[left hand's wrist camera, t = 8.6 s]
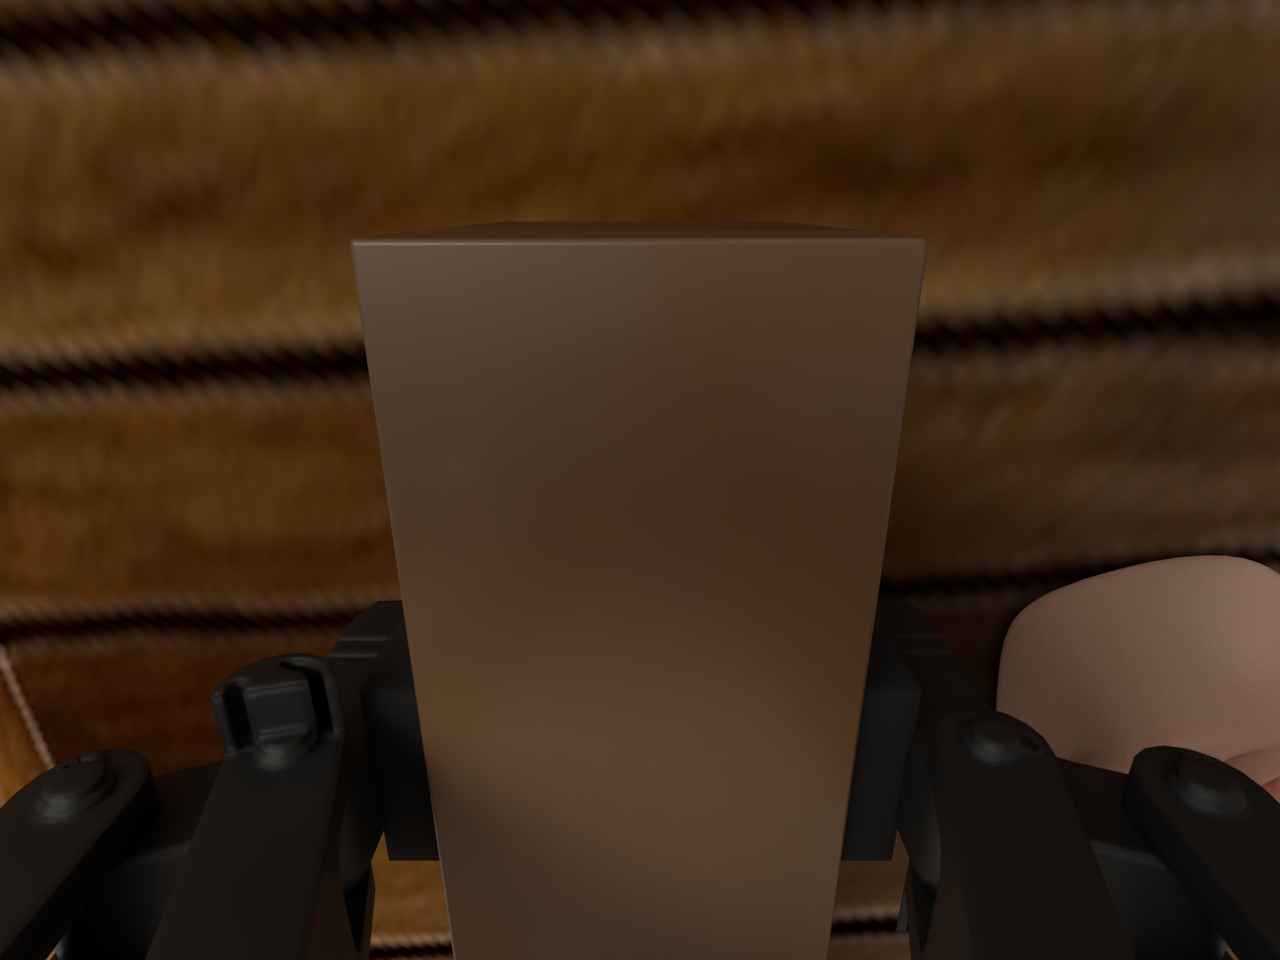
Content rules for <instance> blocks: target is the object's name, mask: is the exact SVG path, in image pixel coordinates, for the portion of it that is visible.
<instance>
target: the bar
mask: <svg viewBox="0 0 1280 960" xmlns="http://www.w3.org/2000/svg"><path fill="white" fill-rule="evenodd" d="M927 245H928V244H927V240H926V239H925V238H923V237H917V236H908V235H899V234H889V233H880V232H871V231H862V230H852V229H843V228H834V227H825V226H815V225H806V224H797V223H788V222H778V221H634V222H497V223H488V224H479V225H469V226H460V227H451V228H442V229H433V230H424V231H415V232H406V233H397V234H388V235H378V236H369V237H360V238H355V239H353V240H352V241H351V245H350V246H351V253H352V260H353V267H354V273H355V280H356V287H357V294H358V301H359V308H360V315H361V322H362V328H363V335H364V342H365V349H366V356H367V363H368V370H369V377H370V384H371V390H372V397H373V404H374V411H375V418H376V425H377V432H378V439H379V446H380V452H381V459H382V466H383V473H384V480H385V487H386V494H387V501H388V508H389V514H390V521H391V528H392V535H393V542H394V549H395V556H396V563H397V569H398V576H399V583H400V590H401V597H402V604H403V611H404V618H405V625H406V631H407V638H408V645H409V652H410V659H411V666H412V673H413V680H414V687H415V693H416V700H417V707H418V714H419V721H420V728H421V735H422V742H423V749H424V755H425V762H426V769H427V776H428V783H429V790H430V797H431V804H432V810H433V817H434V824H435V831H436V838H437V845H438V852H439V859H440V866H441V872H442V879H443V886H444V893H445V900H446V907H447V914H448V921H449V928H450V934H451V941H452V948H453V955H454V960H827V954H828V947H829V940H830V933H831V926H832V918H833V911H834V904H835V897H836V890H837V883H838V876H839V869H840V862H841V855H842V848H843V840H844V833H845V826H846V819H847V812H848V805H849V798H850V791H851V784H852V777H853V770H854V763H855V755H856V748H857V741H858V734H859V727H860V720H861V713H862V706H863V699H864V692H865V685H866V677H867V670H868V663H869V656H870V649H871V642H872V635H873V628H874V621H875V614H876V607H877V599H878V592H879V585H880V578H881V571H882V564H883V557H884V550H885V543H886V536H887V529H888V521H889V514H890V507H891V500H892V493H893V486H894V479H895V472H896V465H897V458H898V451H899V443H900V436H901V429H902V422H903V415H904V408H905V401H906V394H907V387H908V380H909V373H910V365H911V358H912V351H913V344H914V337H915V330H916V323H917V316H918V309H919V302H920V295H921V288H922V280H923V273H924V266H925V259H926V252H927Z"/></svg>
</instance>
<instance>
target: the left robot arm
mask: <svg viewBox="0 0 1280 960" xmlns="http://www.w3.org/2000/svg"><path fill="white" fill-rule="evenodd" d="M210 699H211V703H212V706H213V710H214V714H215V717H216V721H217V725H218V728H219V732H220V736H221V739H222V743H223V746H224V750H225V757H224V759H223V760H221V761H218V762H214V763H211V764H207V765H203V766H199V767H194V768H190V769H185V770H181V771H177V772H172V773H168V774H163V775H159V776H154V777H153V774H152V771H151V768H150V765H149V762H148V759H146V758H145V757H144V756H143V755H141V754H140V753H139V752H138V751H135V750H128V749H121V748H115V749H108V750H101V751H94V752H91V753H88V754H84V755H81V756H79V757H75V758H72V759H70V760H67V761H65V762H63V763H61V764H59V765H57V766H55V767H53V768H51V769H50V770H48V771H46V772H44V773H42V774H40V775H39V776H37V777H36V778H35V779H33V780H32V781H31V782H30V783H28V784H27V785H26V786H24V787H23V788H22V789H20V790H19V791H18V792H17V793H16V794H15V795H14V796H13V797H11V798H10V799H9V800H8V801H7V802H6V803H5V804H4V805H3V806H2V807H1V808H0V960H46V959H47V957H48V956H49V955H50V953H51V952H52V951H53V949H54V950H55V952H56V953H55V954H54V956H53V957H52V958H51V960H369V951H370V941H371V930H372V920H373V909H374V899H375V882H374V876H373V870H372V865H371V860H372V858H373V855H374V853H375V850H376V848H377V845H378V843H379V841H380V838H381V836H382V833H383V831H384V834H385V840H386V845H387V851H388V857H389V861H440V859H439V852H438V845H437V838H436V831H435V824H434V817H433V810H432V804H431V797H430V790H429V783H428V776H427V769H426V762H425V755H424V749H423V742H422V735H421V728H420V721H419V714H418V707H417V700H416V693H415V687H414V680H413V673H412V666H411V659H410V652H409V645H408V638H407V631H406V625H405V618H404V611H403V604H402V601H377V602H376V603H375V604H373V605H372V606H370V607H369V608H367V609H366V610H365V611H363V612H362V613H360V614H359V615H357V616H356V617H355V618H354V619H353V620H352V622H351V623H350V625H349V626H348V627H347V629H346V630H345V632H344V633H343V635H342V636H341V640H340V641H338V642H337V643H336V645H335V646H334V648H333V649H332V650H331V652H330V653H329V658H326V659H325V658H323V657H320V656H316V655H312V654H308V653H295V654H282V655H278V656H274V657H270V658H266V659H261V660H259V661H257V662H255V663H252V664H250V665H248V666H245V667H243V668H241V669H239V670H237V671H236V672H235V673H233V674H232V675H230V676H229V677H228V678H226V679H225V680H223V681H222V682H221V683H220V684H219V685H218V687H217V688H216V689H215V690H214V692H213V693H212V694H211V696H210ZM897 829H898V831H899V833H900V836H901V838H902V841H903V843H904V846H905V848H906V850H907V853H908V855H909V858H910V860H909V865H908V870H907V875H906V881H905V886H904V891H903V896H902V901H901V907H900V912H899V917H898V924H897V931H901V932H906V928H907V923H908V928H909V939H910V949H911V960H1233V959H1232V957H1231V956H1230V955H1229V953H1228V952H1227V951H1226V949H1227V947H1228V946H1229V948H1230V949H1231V950H1232V951H1233V953H1234V954H1235V955H1236V957H1237V958H1238V959H1239V960H1280V803H1279V802H1278V801H1277V800H1276V799H1275V798H1274V797H1273V796H1272V795H1271V794H1269V793H1268V792H1267V791H1266V790H1265V789H1264V788H1263V787H1261V786H1260V785H1259V784H1258V783H1256V782H1255V781H1254V780H1252V779H1251V778H1250V777H1248V776H1247V775H1246V774H1245V773H1243V772H1242V771H1240V770H1238V769H1236V768H1234V767H1232V766H1230V765H1228V764H1226V763H1224V762H1223V761H1221V760H1219V759H1217V758H1215V757H1212V756H1209V755H1207V754H1203V753H1200V752H1197V751H1194V750H1191V749H1187V748H1180V747H1173V746H1165V745H1162V746H1155V747H1148V748H1144V749H1143V750H1142V751H1140V752H1139V753H1138V754H1137V755H1135V756H1134V758H1133V761H1132V764H1131V767H1130V770H1129V773H1128V774H1126V773H1121V772H1117V771H1112V770H1108V769H1103V768H1099V767H1095V766H1090V765H1086V764H1081V763H1077V762H1073V761H1069V760H1066V759H1063V758H1059V757H1056V755H1055V753H1054V751H1053V750H1052V749H1051V747H1050V746H1049V744H1048V743H1047V741H1046V740H1045V738H1044V737H1043V736H1042V735H1040V734H1039V733H1038V732H1037V731H1035V730H1034V729H1033V728H1032V727H1030V726H1029V725H1028V724H1026V723H1024V722H1022V721H1020V720H1018V719H1016V718H1014V717H1012V716H1010V715H1008V714H1006V713H1003V712H999V711H996V710H992V708H991V707H990V705H989V704H988V702H987V701H986V700H985V698H984V697H983V695H982V694H981V692H980V691H979V690H978V688H977V687H976V685H975V684H974V682H973V681H972V680H971V678H970V677H969V675H968V674H967V672H966V671H965V670H964V668H963V667H962V665H961V664H960V662H959V661H958V659H957V658H956V657H955V656H952V651H951V649H950V648H949V647H948V645H947V644H946V642H945V641H944V639H941V637H940V634H939V632H938V631H937V629H936V628H935V627H934V625H933V624H932V622H931V621H930V619H929V618H928V617H927V615H925V614H924V613H922V612H921V611H920V610H918V609H917V608H915V607H914V606H912V605H911V604H910V603H908V602H907V601H905V600H904V599H877V607H876V614H875V621H874V628H873V635H872V642H871V649H870V656H869V663H868V670H867V677H866V685H865V692H864V699H863V706H862V713H861V720H860V727H859V734H858V741H857V748H856V755H855V763H854V770H853V777H852V784H851V791H850V798H849V805H848V812H847V819H846V826H845V833H844V840H843V848H842V855H841V860H877V861H891V859H892V854H893V848H894V843H895V837H896V832H897Z"/></svg>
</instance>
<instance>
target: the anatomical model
mask: <svg viewBox="0 0 1280 960" xmlns="http://www.w3.org/2000/svg"><path fill="white" fill-rule="evenodd" d="M996 711H999V712H1003V713H1006V714H1008V715H1010V716H1012V717H1014V718H1016V719H1018V720H1020V721H1022V722H1024V723H1026V724H1028V725H1029V726H1030V727H1032V728H1033V729H1034V730H1035V731H1037V732H1038V733H1039V734H1040V735H1042V736H1043V737H1044V738H1045V740H1046V741H1047V743H1048V744H1049V746H1050V747H1051V749H1052V750H1053V751H1054V753H1055V755H1056V757H1059V758H1063V759H1066V760H1069V761H1073V762H1077V763H1081V764H1086V765H1090V766H1095V767H1099V768H1103V769H1108V770H1112V771H1117V772H1121V773H1126V774H1128V773H1129V770H1130V767H1131V764H1132V761H1133V758H1134V756H1135V755H1137V754H1138V753H1139V752H1140V751H1142V750H1143V749H1144V748H1148V747H1155V746H1162V745H1165V746H1173V747H1180V748H1187V749H1191V750H1194V751H1197V752H1200V753H1203V754H1207V755H1209V756H1212V757H1215V758H1217V759H1219V760H1221V761H1223V762H1224V763H1226V764H1228V765H1230V766H1232V767H1234V768H1236V769H1238V770H1240V771H1242V772H1243V773H1245V774H1246V775H1247V776H1248V777H1250V778H1251V779H1252V780H1254V781H1255V782H1256V783H1258V784H1259V785H1260V786H1261V787H1263V788H1264V789H1265V790H1266V791H1267V792H1268V793H1269V794H1271V795H1272V796H1273V797H1274V798H1275V799H1276V800H1277V801H1278V802H1279V803H1280V575H1279V574H1278V573H1276V572H1275V571H1273V570H1272V569H1270V568H1268V567H1266V566H1264V565H1262V564H1260V563H1257V562H1254V561H1251V560H1248V559H1244V558H1238V557H1231V556H1211V555H1205V556H1190V557H1178V558H1171V559H1165V560H1159V561H1153V562H1147V563H1143V564H1139V565H1135V566H1131V567H1126V568H1122V569H1118V570H1114V571H1111V572H1107V573H1104V574H1100V575H1097V576H1093V577H1090V578H1087V579H1083V580H1081V581H1078V582H1075V583H1073V584H1070V585H1067V586H1065V587H1062V588H1059V589H1057V590H1054V591H1052V592H1049V593H1048V594H1046V595H1044V596H1042V597H1040V598H1039V599H1037V600H1035V601H1033V602H1032V603H1030V604H1029V605H1028V606H1027V607H1026V608H1025V609H1023V610H1022V611H1021V612H1020V613H1019V614H1018V615H1017V617H1016V618H1015V619H1014V621H1013V622H1012V624H1011V625H1010V627H1009V629H1008V632H1007V634H1006V637H1005V639H1004V644H1003V648H1002V653H1001V658H1000V665H999V676H998V686H997V697H996Z"/></svg>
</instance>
